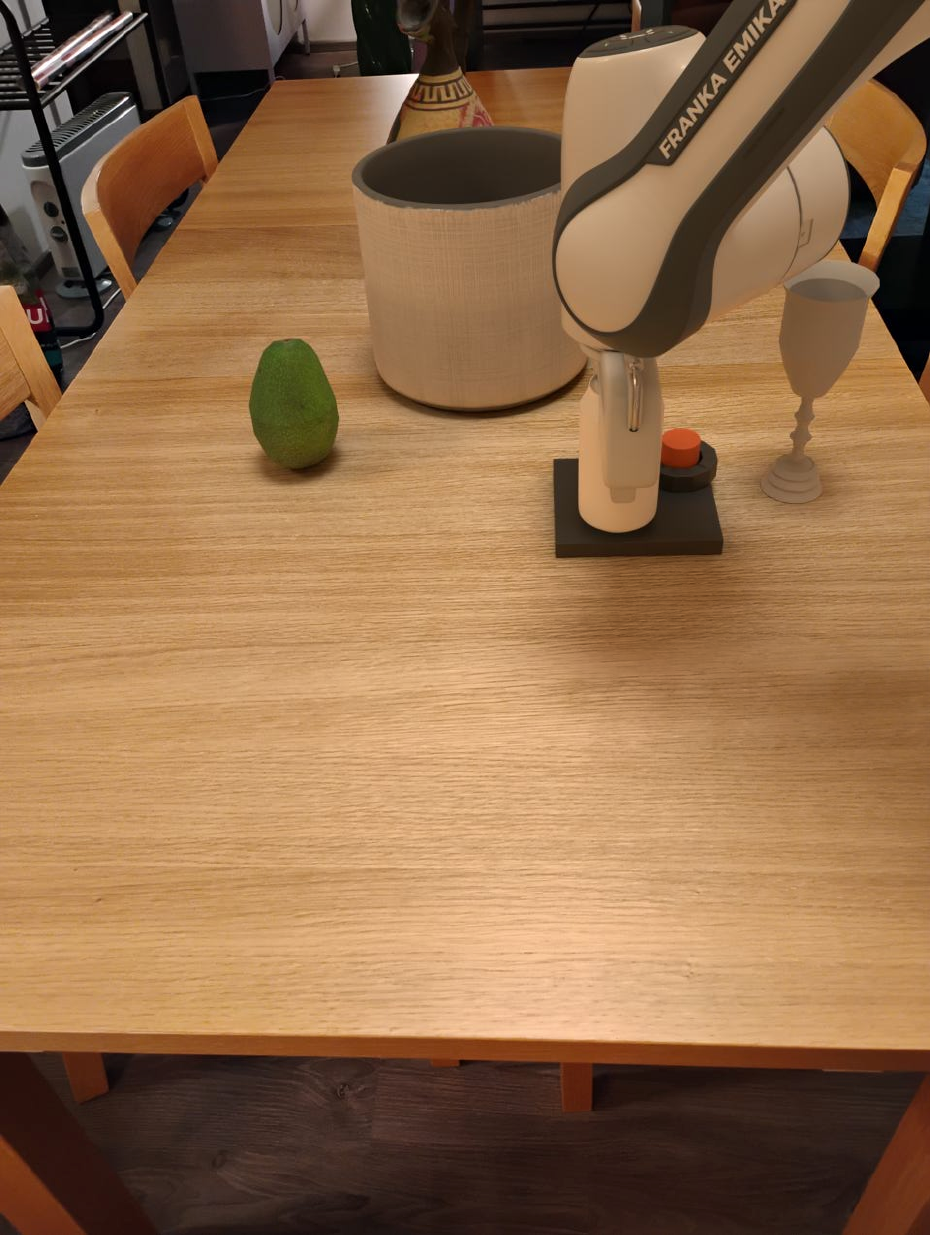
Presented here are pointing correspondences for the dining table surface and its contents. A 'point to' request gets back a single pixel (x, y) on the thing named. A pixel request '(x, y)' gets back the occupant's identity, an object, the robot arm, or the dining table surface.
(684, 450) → the button
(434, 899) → the dining table surface
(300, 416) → the avocado
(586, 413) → the beverage can
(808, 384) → the chalice
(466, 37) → the ceramic jug
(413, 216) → the planter
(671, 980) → the dining table surface
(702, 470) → the scale
